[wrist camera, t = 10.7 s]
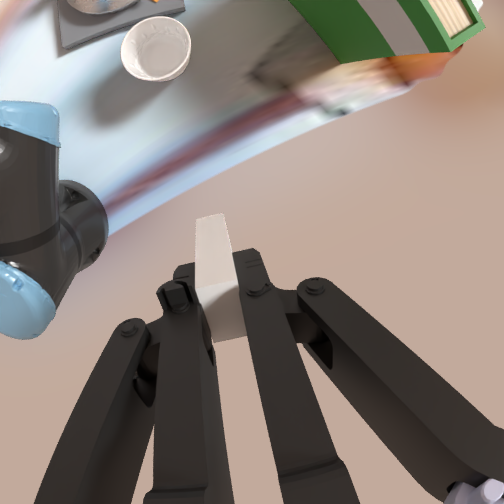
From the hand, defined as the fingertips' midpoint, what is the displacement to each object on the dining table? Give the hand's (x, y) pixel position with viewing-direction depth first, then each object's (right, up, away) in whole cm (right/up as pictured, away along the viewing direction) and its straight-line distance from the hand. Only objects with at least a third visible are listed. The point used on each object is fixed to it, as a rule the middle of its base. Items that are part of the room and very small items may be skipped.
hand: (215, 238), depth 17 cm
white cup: (-10, +26, +19) cm, 33 cm away
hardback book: (+13, +36, +17) cm, 41 cm away
